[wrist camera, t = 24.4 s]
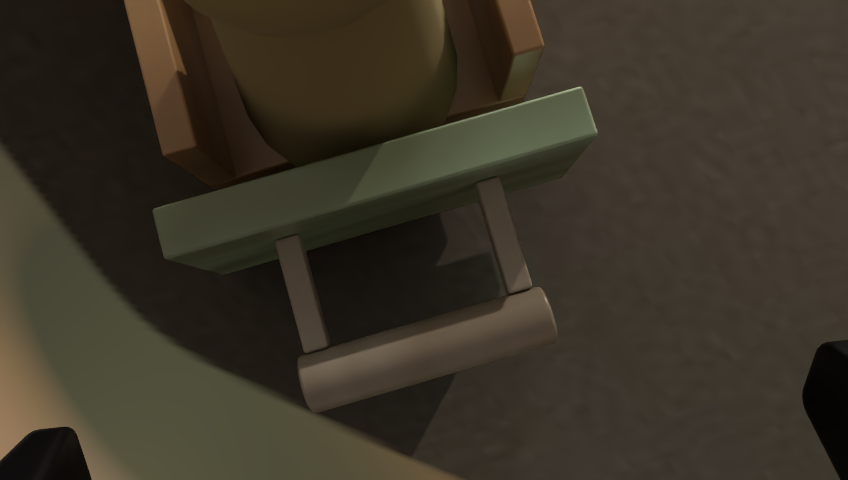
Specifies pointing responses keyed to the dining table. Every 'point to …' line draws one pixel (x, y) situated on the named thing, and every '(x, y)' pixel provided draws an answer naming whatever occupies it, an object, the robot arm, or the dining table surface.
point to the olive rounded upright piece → (337, 70)
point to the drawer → (365, 189)
